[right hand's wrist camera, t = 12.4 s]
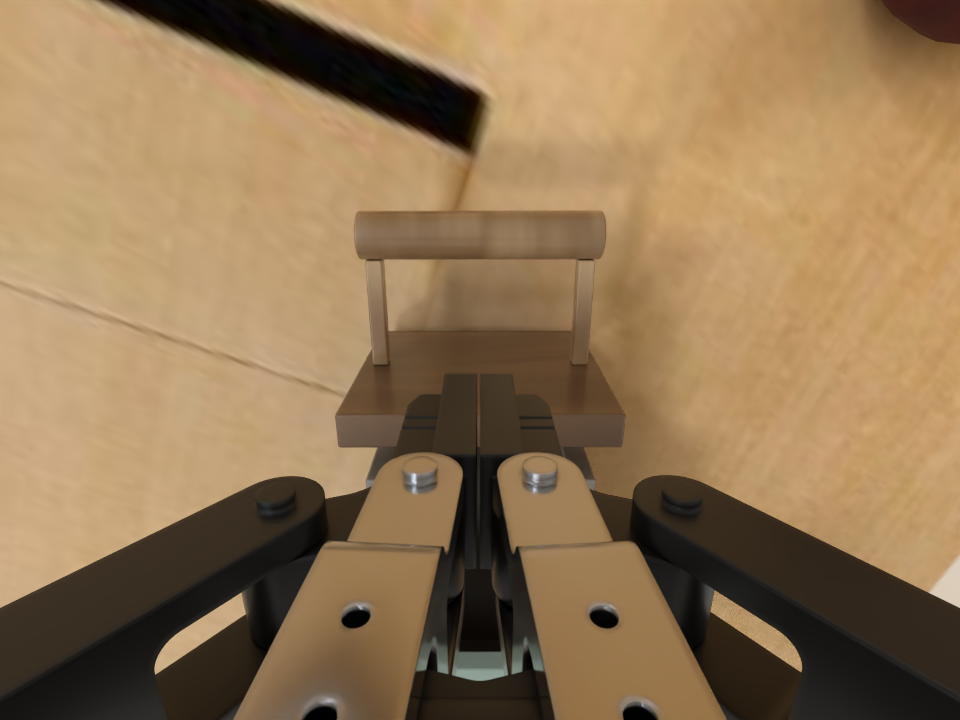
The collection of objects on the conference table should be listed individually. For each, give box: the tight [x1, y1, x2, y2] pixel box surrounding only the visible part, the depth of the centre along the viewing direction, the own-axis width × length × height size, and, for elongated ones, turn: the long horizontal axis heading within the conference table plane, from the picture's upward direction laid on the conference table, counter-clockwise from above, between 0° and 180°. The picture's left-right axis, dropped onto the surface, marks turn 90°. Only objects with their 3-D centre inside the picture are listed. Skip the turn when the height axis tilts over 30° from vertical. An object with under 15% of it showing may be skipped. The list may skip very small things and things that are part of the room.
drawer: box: [335, 211, 625, 652], centre depth 23 cm, size 24×9×9 cm, turn 0°
